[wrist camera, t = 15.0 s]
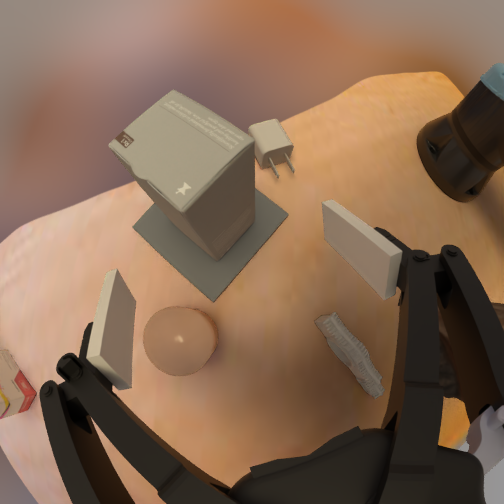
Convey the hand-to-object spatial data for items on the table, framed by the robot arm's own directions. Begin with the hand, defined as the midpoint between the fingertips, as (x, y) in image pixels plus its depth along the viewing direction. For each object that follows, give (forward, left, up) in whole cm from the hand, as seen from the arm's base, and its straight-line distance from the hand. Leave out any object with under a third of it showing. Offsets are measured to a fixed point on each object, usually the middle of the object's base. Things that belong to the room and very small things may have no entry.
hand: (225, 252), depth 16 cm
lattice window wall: (-15, -1, -14) cm, 21 cm away
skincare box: (+7, -3, -13) cm, 15 cm away
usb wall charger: (+6, -15, -14) cm, 21 cm away
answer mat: (+7, -3, -14) cm, 16 cm away
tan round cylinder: (0, +8, -14) cm, 16 cm away
